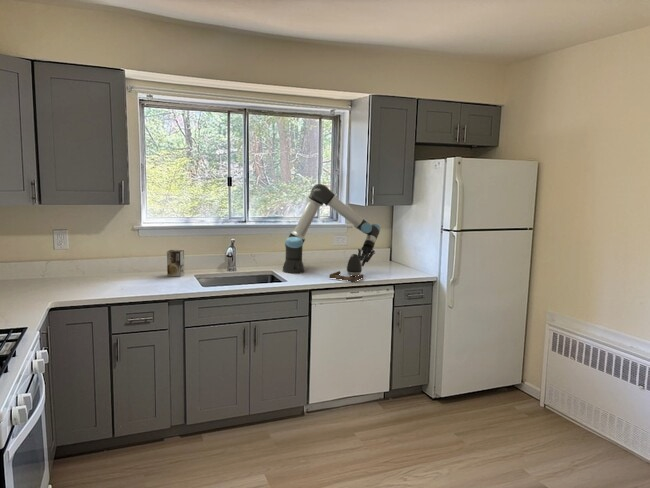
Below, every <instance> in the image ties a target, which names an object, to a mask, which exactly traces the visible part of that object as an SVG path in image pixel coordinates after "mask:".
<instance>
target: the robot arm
mask: <svg viewBox="0 0 650 488" xmlns="http://www.w3.org/2000/svg"><path fill="white" fill-rule="evenodd" d="M307 200H308V203H306V206H305V208H304V210H303V212H302V213H301V216H300V218H299V220H298V221H297V224H296V226H295V228H294V230H293V231H290V233H289V234H288V237H286V240H285V243H284V247H285V260H284V263H283V265H282V272H283V271H284V272H283V273H287V272H288V274H301V273H300V272H302V273H304V272H305V265H304V263H303V245H304V243H305V241H306V238H305V236H306V234H307V232H308V230H309V229H310V226H311V224H312V223H313V220H314V219H315V216H316V215H317V213H318V210H319V208H320V207H322V206H323V205H325V206H326V207H327V206H328V207H330V208H331V209H333V210H334V211H335V212H336V213H338V214H339V215H340V216H342V218H344V219H345V220H346V221H348V223H351V224H352V225H353V227H354V228H355V229H356V230H359V231H360V232H362V233H363V234H366V237H365V239H364V242H363V246H362V247H361V248H357V250H358V253H357V255H358V256H361V255H362V256H363V257H361V258H360V261H361V267H362V268H363V267H364V266H365V265H366V263H369V262H370V260H371V259H372V257H373V255H375V254H376V251H375V250H374V247H375V245H376V243H377V240H378V237H379V235H380V232H381V227H380V225H378V224H376V223H372V224H371V223H369V222H368V221H366V220H365V219H364V218H363V217H361V216H360V215H359V214H357V213H356V212H355V211H354V210H353V209H351V208H350V207H349V206H347V205H346V204H345V203H344V202H343V201H342V200H340V199H339V198H337V196H336V194H335V193H333V192H332V190H330V188H328V186H327V185H325V184H322V183H317V184H315V185H314V186H313V187H312V188H311V190H310V194H309V196H308V197H307Z"/></svg>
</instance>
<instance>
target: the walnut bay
mask: <svg viewBox="0 0 650 488" xmlns="http://www.w3.org/2000/svg"><path fill="white" fill-rule="evenodd" d="M339 274H340V275H339ZM328 278H336V279H342V280H348V281H353V282H352V283H356V282H355V281H357V280H359V279H361V278H363V279H364V274H361V273H360V275H359V276H356V277H352V276H346V275H341V271H335V272H333V273H329V277H328ZM359 281H360V280H359ZM357 282H358V281H357Z"/></svg>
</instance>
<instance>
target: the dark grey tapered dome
mask: <svg viewBox="0 0 650 488" xmlns="http://www.w3.org/2000/svg"><path fill="white" fill-rule="evenodd" d="M361 257H363V256H362V254H361V256H358V253H353V254H351V255H350V257H349V259H348V262H347V265H346V272H347V274H348V276H349V275H352V276H358V275H361V273H362V271H363V266H362V267H361V261H360V258H361ZM352 276H351V277H352Z"/></svg>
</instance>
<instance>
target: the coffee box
mask: <svg viewBox="0 0 650 488" xmlns="http://www.w3.org/2000/svg"><path fill="white" fill-rule="evenodd" d="M166 262H167V263H166V269H167V273H166V276H167V277H183V276H185V250H182V249H181V250H180V249H170V250H167V251H166Z"/></svg>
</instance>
